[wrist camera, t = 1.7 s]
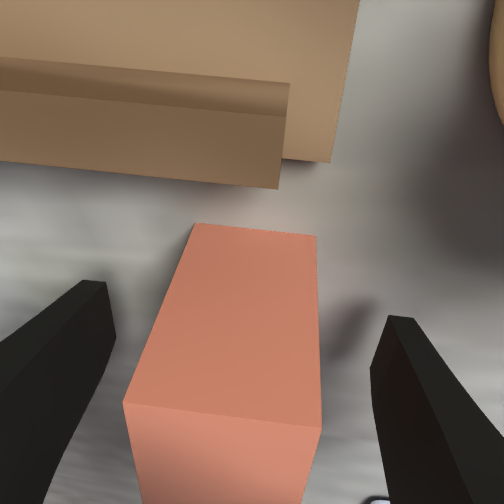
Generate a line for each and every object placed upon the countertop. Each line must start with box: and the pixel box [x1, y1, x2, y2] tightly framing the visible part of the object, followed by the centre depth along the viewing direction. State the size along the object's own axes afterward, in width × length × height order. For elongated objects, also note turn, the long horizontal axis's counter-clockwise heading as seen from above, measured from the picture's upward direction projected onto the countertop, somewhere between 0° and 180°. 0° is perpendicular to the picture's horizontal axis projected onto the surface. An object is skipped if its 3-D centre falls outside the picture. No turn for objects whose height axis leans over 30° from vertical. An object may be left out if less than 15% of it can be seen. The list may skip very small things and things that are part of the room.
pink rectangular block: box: [122, 223, 322, 504], centre depth 10 cm, size 4×3×6 cm
